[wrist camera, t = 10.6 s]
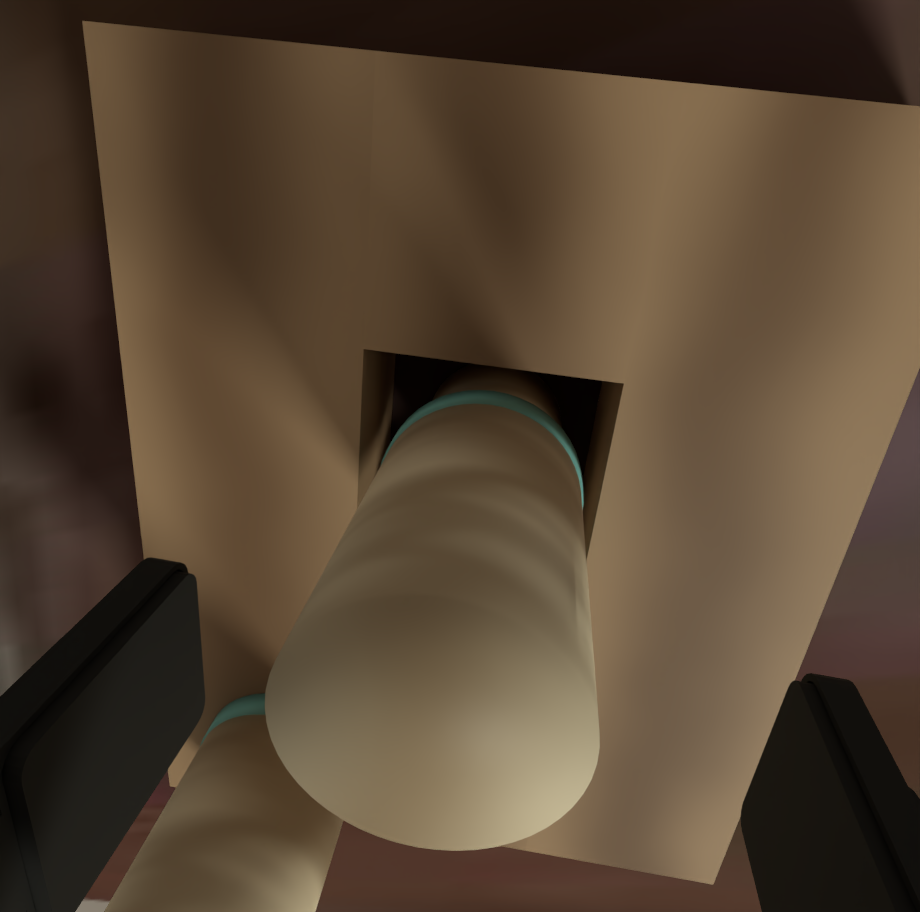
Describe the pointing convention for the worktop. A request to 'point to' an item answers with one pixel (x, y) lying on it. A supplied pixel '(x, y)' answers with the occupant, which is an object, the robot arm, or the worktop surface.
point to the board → (509, 346)
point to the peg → (451, 631)
